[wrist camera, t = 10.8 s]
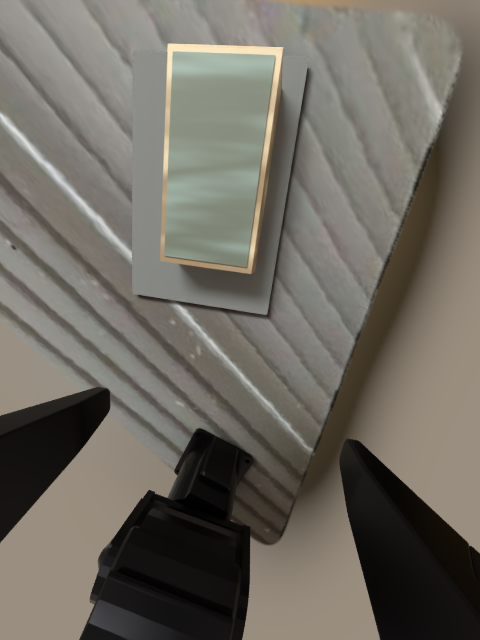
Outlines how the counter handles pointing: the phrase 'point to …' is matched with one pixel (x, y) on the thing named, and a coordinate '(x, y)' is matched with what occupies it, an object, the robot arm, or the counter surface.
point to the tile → (218, 152)
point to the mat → (148, 188)
